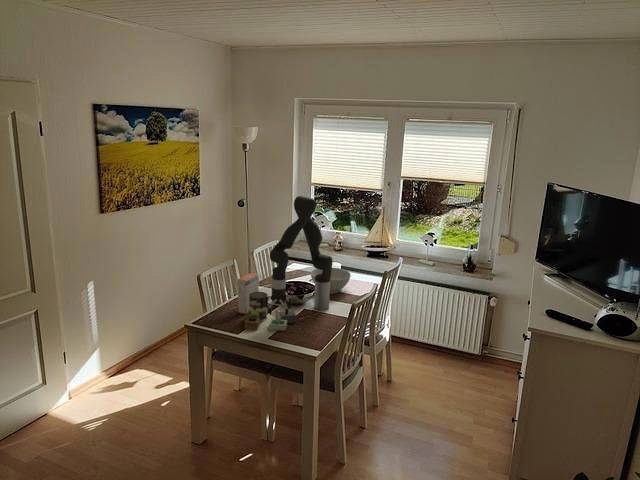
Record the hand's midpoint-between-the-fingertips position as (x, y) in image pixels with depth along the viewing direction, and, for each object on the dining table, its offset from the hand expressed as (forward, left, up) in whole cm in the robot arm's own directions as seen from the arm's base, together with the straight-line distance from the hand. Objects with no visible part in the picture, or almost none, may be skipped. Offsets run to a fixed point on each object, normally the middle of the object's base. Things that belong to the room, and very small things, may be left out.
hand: (278, 314), depth 252 cm
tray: (0, 0, -8) cm, 8 cm away
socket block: (+1, -14, -8) cm, 16 cm away
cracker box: (-22, -21, -8) cm, 31 cm away
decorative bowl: (-62, +26, -8) cm, 68 cm away
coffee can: (-11, -13, -8) cm, 19 cm away
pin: (0, 0, -7) cm, 7 cm away
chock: (-10, +4, -8) cm, 13 cm away
